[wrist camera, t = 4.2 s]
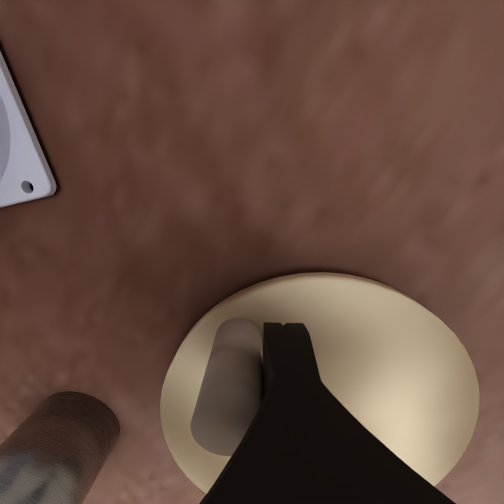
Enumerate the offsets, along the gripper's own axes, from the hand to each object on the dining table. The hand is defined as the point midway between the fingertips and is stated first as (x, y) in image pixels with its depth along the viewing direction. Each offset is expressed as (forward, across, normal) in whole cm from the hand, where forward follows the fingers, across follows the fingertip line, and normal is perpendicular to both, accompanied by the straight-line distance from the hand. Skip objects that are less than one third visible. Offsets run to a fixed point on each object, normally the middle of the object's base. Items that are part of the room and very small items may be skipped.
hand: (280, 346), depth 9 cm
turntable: (+2, -2, +6) cm, 6 cm away
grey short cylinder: (+3, +12, +8) cm, 15 cm away
